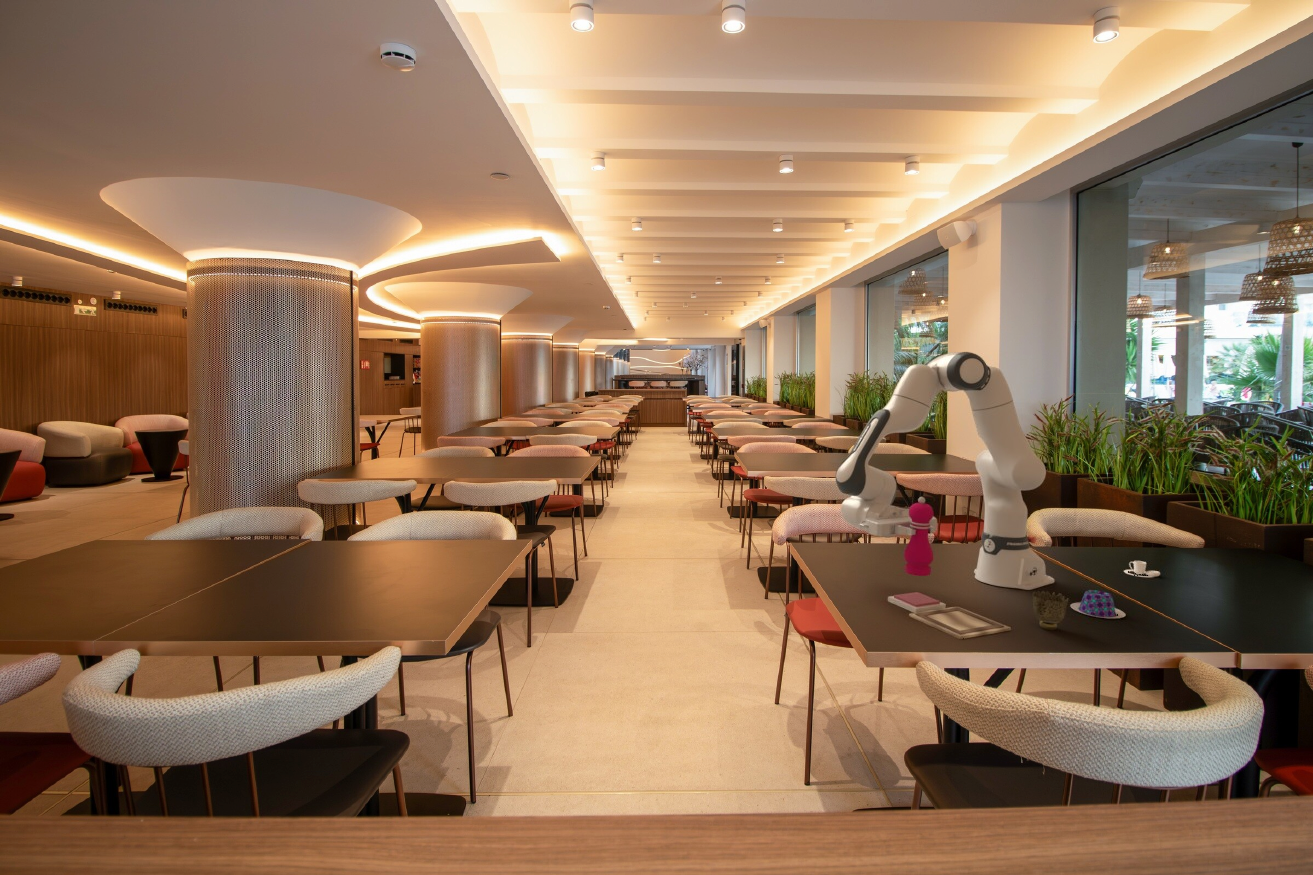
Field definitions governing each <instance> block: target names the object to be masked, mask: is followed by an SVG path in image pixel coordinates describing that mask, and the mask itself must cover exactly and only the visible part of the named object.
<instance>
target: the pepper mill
mask: <svg viewBox="0 0 1313 875" xmlns="http://www.w3.org/2000/svg"><path fill="white" fill-rule="evenodd" d="M917 501H918V502H915V503H913V504H912V505H910V506H909V507H908V508H909V516H910V518H911V519H912V520H911V521H910V526H911V527H912V528H914V529H915V530H916V532H915V535H914V536H910V540H909V541H908V543H907V545H906V547H905V549H904V551H903V558H904V560H905V561H906V564H904V565H905V566H904V572H905V573H907V574H908V575H912V576H917V577H928V576H930V575H931V571H932V568H931V566H930V565H931V563H933V561H934V553H933V552H934V551H933V548H932V547H931V544H930V541H929V540H930V539H929V534H928V530H929V528H931V526H930V524H931V523H930V522H929V521H930V520H931V519H932V518H933V517H934V509H933V507H932V506H931V505H930V504H928V503H926V498H925V497H923V496H920V497H919V498H917Z"/></svg>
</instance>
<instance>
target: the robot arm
mask: <svg viewBox="0 0 1313 875" xmlns="http://www.w3.org/2000/svg"><path fill="white" fill-rule="evenodd" d="M942 391H943V392H945V391H946V392H959V391H963V392H964V393H965V394H966V396H967V398H968V400H969V405H970V408H971V413H972V416H973V420H974V424H975V428H976V432H977V435H978V436H979V438H980V439H981V440H982V441H983V443H984V444H985V445H986V449H984V450H982V451H981V452H979V454H978V455H977V456H976V458H975V462H974V464H975V469H976V472H977V473H978V475H979V478H980V483H981V487H982V489H981V490H982V493H983V500H984V520H983V521H984V522H983V523H984V524H983V530H982V532H981V539H980V540H981V544H982V545H981V547H980V548H979V553H978V559H977V565H976V568H975V569H974V571H973V573H974V574H975V575H974V578H975V579H976V580H977V581H979V582H982V583H985V584H989V585H992V586H996V587H1003V588H1012V589H1020V590H1027V591H1030V590H1035V589H1037V588H1040V587H1043V586H1048V585H1051V584H1054V583H1055V578H1053V577H1052V576H1050V575H1047V574H1046V564H1045V561H1044V559H1042V558H1041V557H1040V556H1039V555H1038V554H1037V553H1036V552H1035V551H1034V550H1032V548H1030V546H1031V545H1030V543H1031V544H1036V542H1037V536H1032V535H1028V536H1027V526H1028V524H1027V523H1028V508H1027V505H1026V503H1025V501H1024V500H1023V496H1022V491H1031V490H1035V489H1036V488H1038V487H1040V486H1041V485H1042V484H1043V483H1044V480H1045V479H1046V475H1047V470H1046V466H1045V464H1044V462H1043V461H1042V460H1041V459H1040V458H1039V457H1038V456H1037V454H1035V451H1034V450H1033V448H1032V447H1031V446H1032V445H1031V444H1030V442H1029V441H1028V439H1027V437H1026V435H1025V433H1024V431H1023V429H1022V427H1021V424H1020V421H1019V417H1018V414H1017V410H1016V406H1015V402H1014V399H1013V396H1012V392H1011V389H1010V387H1009V384H1008V382H1007V380H1006V377H1005V376H1004V373H1003V372H1002V370H1000V369H999V368H998V367H995V366H990V365H989V366H988V364H987V363H986V361H985V360H984V359H983V357H981V356H979V355H978V354H976V353H973V352H971V351H953V352H947V353H945V354H939V355H936V356H934V357H932V358H931V359H929V360H928V361H927V362H926V363H923V364H922V363H917V364H916V363H915V364H911V365H910V366H908V367H907V368H906V369H905V371H904V372H903V374H902V375H901V378H900V379H899V381H898V383H897V385H896V386H895V388H894V390H893V392H892V395H891V396H890V399H889V401H888V402H887V404H886V405H885V406H884V407H883V408H882V409H878V410H877V411H876V412H875V413H873V415H872V416H871V418H870V419H869V420H868V422H867V423H866V425H865V426H864V429H863V430H862V432H861V433H860V435H859V437H858V438H857V440H856V441H855V443H854V445H853V447H852V448H851V450H850V452H849V453H848V455H847V456H846V458H845V459H844V460H843V461H842V462H841V463H840V465H839V466H838V468H837V470H836V472H835V482H836V485H837V489H838V490H839V491H840V492H841V493H842V494H845V495H848V496H849V497H847V498H845V499H844V500H843V501H842V502H841V505H840V513H841V517H842V518H843V520H844V521H845V522H846V523H847V524H849V525H850V526H852V527H854V528H856V529H858V530H862V531H865V532H866V533H867V534H870V535H872V536H875V537H881V538H883V537H884V538H886V539H887V538H893V537H896V536H903V535H904V536H909V537H911V536H914V535H915V532H916V530H915V529H914V528H912V527H911V526H910V521H911V520H912V519H911V518H910V516H909V508H910V507H906V506H905V507H904V506H895V505H892V504H893V503H894V500H895V499H896V495H897V491H898V485H897V480H896V478H895V476H894V475H893V474H891V473H889V472H887V471H885V470H881V469H880V468H877V467H874V466H873V465H872V466H871V465H869V461H870V459H871V457H872V456H873V455H874V452H875V451H876V449H877V447H878V445H879V444H880V442H881V441H882V440H883V438H885V437H886V436H887V435H890V434H895V433H909V432H913V431H915V430H918V429H919V428H920V427H922V426H923V425H924V423H925V422H926V420H927V418H928V416H929V414H930V411H931V408H932V405H933V404H934V401H935V399H936V397H937V396H938V394H939V393H940V392H942ZM929 522H930V523H931V524H930V526H931V528H929V530H928V535H932V534H935V532H937V530H938V529H937V528H938V519H937V518H936V517H935V516H933V518H932V519H931V520H930V521H929Z"/></svg>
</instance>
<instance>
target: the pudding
mask: <svg viewBox="0 0 1313 875" xmlns="http://www.w3.org/2000/svg"><path fill="white" fill-rule="evenodd" d="M1069 607H1070V608H1071V609H1073V610H1074V611H1076V612H1078V613H1081V614H1083V615H1087V616H1091V617H1096V618H1104V619H1121V618H1124V617H1126V613H1125V612H1124V611H1122V610H1121V609H1118V608H1116V607H1115V603H1114V598H1113V595H1112V594H1111V593H1108V592H1106V591H1101V590H1095V589H1094V590H1092V589H1088V590H1085V592H1084V594H1083V596H1082V598H1081V601H1079V602H1074V603H1071V604H1070V606H1069ZM1117 614H1118V616H1117Z"/></svg>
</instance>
